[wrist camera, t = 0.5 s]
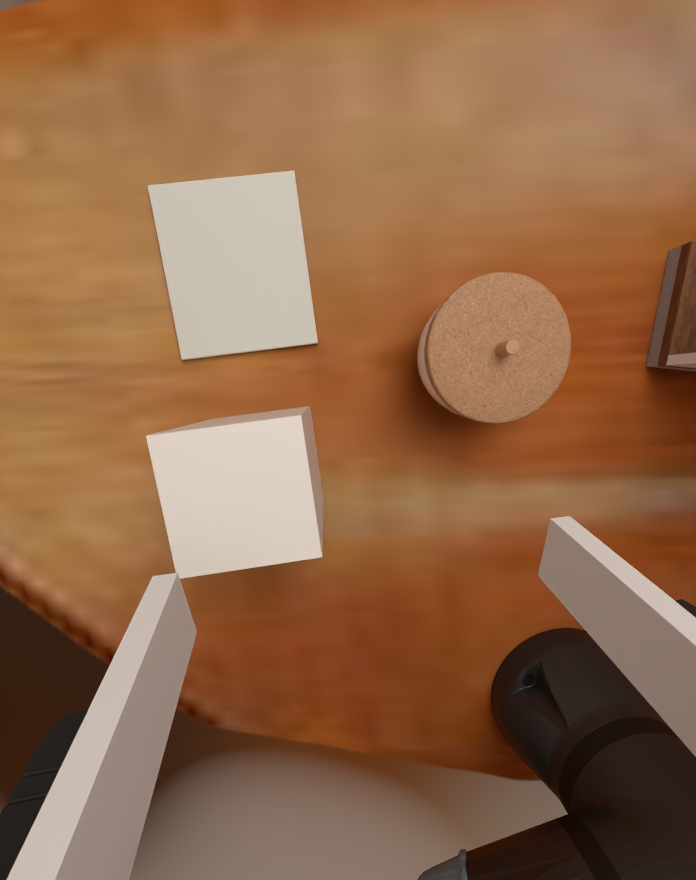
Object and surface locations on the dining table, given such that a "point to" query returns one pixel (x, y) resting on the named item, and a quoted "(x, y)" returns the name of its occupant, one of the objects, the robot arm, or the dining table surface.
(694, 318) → the display case
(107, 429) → the dining table surface
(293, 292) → the mat
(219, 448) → the white block
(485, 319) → the lidded jar
